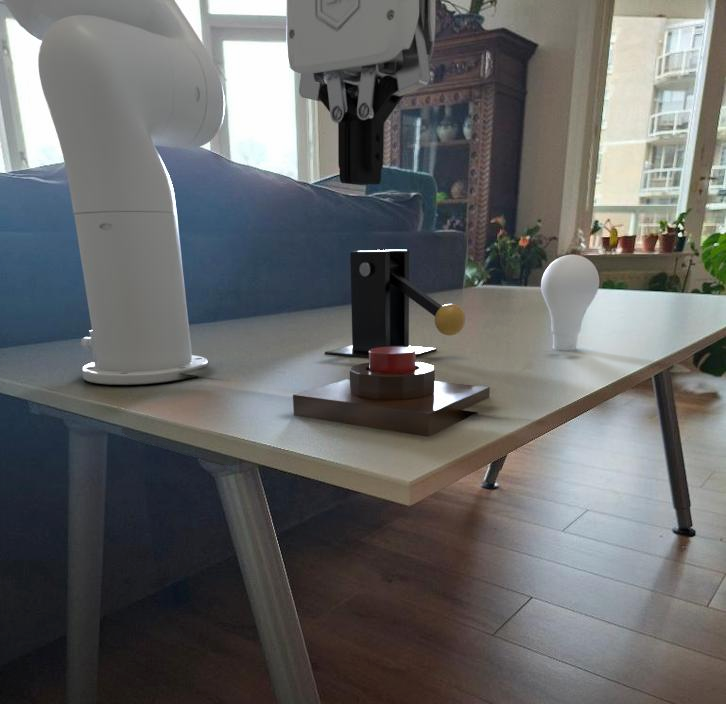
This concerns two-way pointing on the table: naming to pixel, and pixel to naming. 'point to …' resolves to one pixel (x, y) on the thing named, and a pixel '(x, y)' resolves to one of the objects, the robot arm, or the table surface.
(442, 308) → the switch lever
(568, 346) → the lightbulb
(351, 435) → the table surface
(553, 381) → the table surface
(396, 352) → the lamp button
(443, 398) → the button base
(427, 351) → the switch bracket
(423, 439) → the table surface
